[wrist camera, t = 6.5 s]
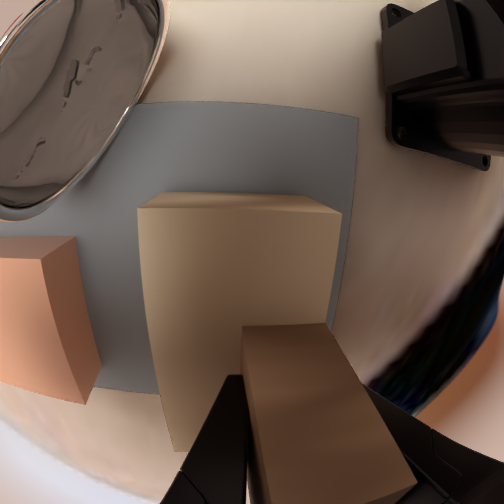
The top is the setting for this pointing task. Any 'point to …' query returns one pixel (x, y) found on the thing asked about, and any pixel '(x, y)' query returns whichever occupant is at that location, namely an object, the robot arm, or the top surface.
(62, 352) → the tile
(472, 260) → the top surface
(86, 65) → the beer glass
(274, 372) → the two-tone stepped block
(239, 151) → the slate board
